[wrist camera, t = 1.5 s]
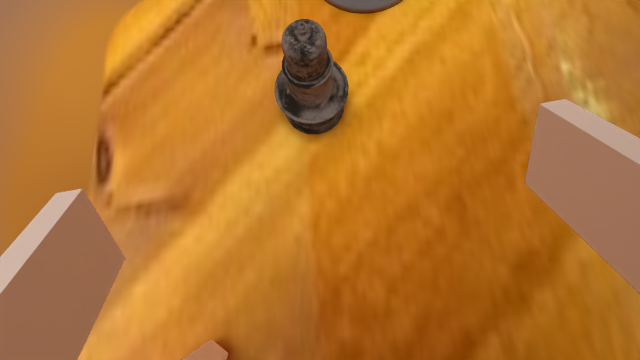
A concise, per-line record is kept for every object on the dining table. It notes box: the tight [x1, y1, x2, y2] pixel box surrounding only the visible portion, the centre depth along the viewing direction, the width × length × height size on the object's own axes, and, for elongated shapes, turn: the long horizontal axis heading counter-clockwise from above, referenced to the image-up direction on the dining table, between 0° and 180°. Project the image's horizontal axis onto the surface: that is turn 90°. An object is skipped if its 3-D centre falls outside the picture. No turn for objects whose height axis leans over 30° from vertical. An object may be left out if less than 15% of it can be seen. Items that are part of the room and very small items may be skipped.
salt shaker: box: [275, 19, 348, 134], centre depth 27 cm, size 6×6×12 cm
